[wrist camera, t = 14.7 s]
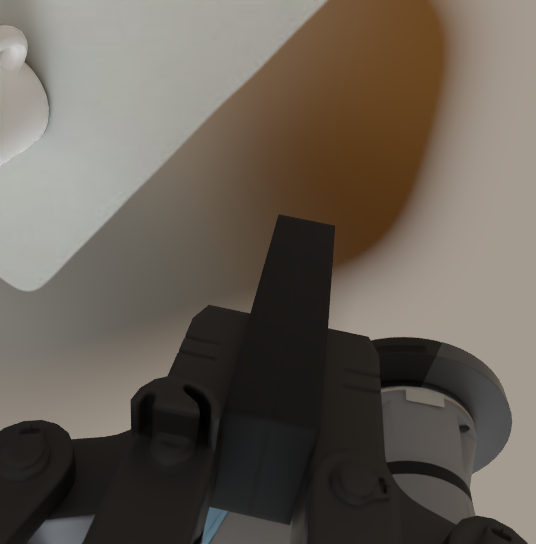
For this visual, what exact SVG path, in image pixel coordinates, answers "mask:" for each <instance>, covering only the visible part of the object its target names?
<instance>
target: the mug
mask: <svg viewBox="0 0 536 544" xmlns="http://www.w3.org/2000/svg"><path fill="white" fill-rule="evenodd" d="M27 49H28V43H27V40H26V37H25V35H24V34H23V33H22V32H21V31H20V30H19V29H17V28H15V27H13V26H7V25H2V26H0V166H1V165H2V164H4V163H5V162H7V161H9V160H10V159H12V158H13V157H15V156H17V155H18V154H20V153H21V152H23V151H24V150H26V149H28V148H29V147H31V146H32V145H33V144H34V143H36V142H37V141H38V140H39V139H40V137H41V136H42V135H43V134H44V132H45V130H46V127H47V124H48V119H49V105H48V100H47V96H46V93H45V91H44V88H43V86H42V84H41V82H40V80H39V79H38V77H37V76H36V74H35V73H34V72H33V70H32V69H31V68H30V67H29V66H28V65H27V64H26V63H25V62H24V61H25V58H26V55H27Z"/></svg>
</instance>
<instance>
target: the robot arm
mask: <svg viewBox="0 0 536 544" xmlns="http://www.w3.org/2000/svg"><path fill="white" fill-rule="evenodd" d="M334 233H335V226H334V225H328V224H324V223H319V222H314V221H309V220H304V219H299V218H294V217H289V216H283V215H279V216H278V219H277V222H276V226H275V229H274V233H273V236H272V240H271V243H270V247H269V250H268V254H267V257H266V261H265V264H264V268H263V271H262V275H261V279H260V282H259V285H258V289H257V293H256V296H255V299H254V303H253V306H252V310H251V313H250V314H249V313H245V312H240V311H235V310H231V309H226V308H221V307H216V306H212V305H208V306H207V307H206V308H205V309H203V310H202V311H201V312H200V313H198V314H197V315H196V316H195V317H194V318H193V319H192V322H191V324H190V326H189V329H188V331H187V333H186V337H185V338H184V340H183V342H182V345H181V347H180V349H179V353H178V354H177V356H176V358H175V360H174V363H173V365H172V367H171V370H170V372H169V374H168V376H167V377H163V378H159V379H154V380H153V381H151V382H150V383H148V384H146V385H144V386H143V387H141V388H140V389H139V390H138V391H137V393H136V394H135V395H134V397H133V398H132V399H131V430H128V431H126V432H123V433H120V434H118V435H112V436H107V437H98V438H84V439H71V438H70V436H69V433H68V432H67V431H65V430H64V429H63V428H61V427H60V426H59V425H57V424H55V423H51V422H47V421H43V420H36V421H23V422H20V423H18V424H14V425H12V426H9V427H6V428H4V429H3V430H1V431H0V544H527V542H526V541H525V540H523V539H522V538H521V537H520V536H519V535H518V534H517V533H516V532H515V531H514V530H513V529H511V528H510V527H508V526H506V525H504V524H502V523H500V522H498V521H496V520H495V519H492V518H486V517H481V516H475V512H474V507H473V503H472V498H471V493H470V482H471V475H472V469H473V463H474V457H475V451H476V429H475V425H474V421H473V417H472V415H471V412H470V410H469V409H468V407H467V406H466V405H465V403H464V402H463V401H462V400H461V399H459V398H458V397H457V396H456V395H454V394H453V393H451V392H449V391H447V390H445V389H443V388H441V387H439V386H436V385H433V384H429V383H425V382H420V381H412V380H392V381H384V382H381V380H380V364H379V355H378V353H377V351H376V349H375V348H374V346H373V344H372V342H371V341H370V339H369V337H366V336H362V335H357V334H352V333H348V332H342V331H338V330H333V329H328V319H329V305H330V290H331V276H332V262H333V246H334Z"/></svg>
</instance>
